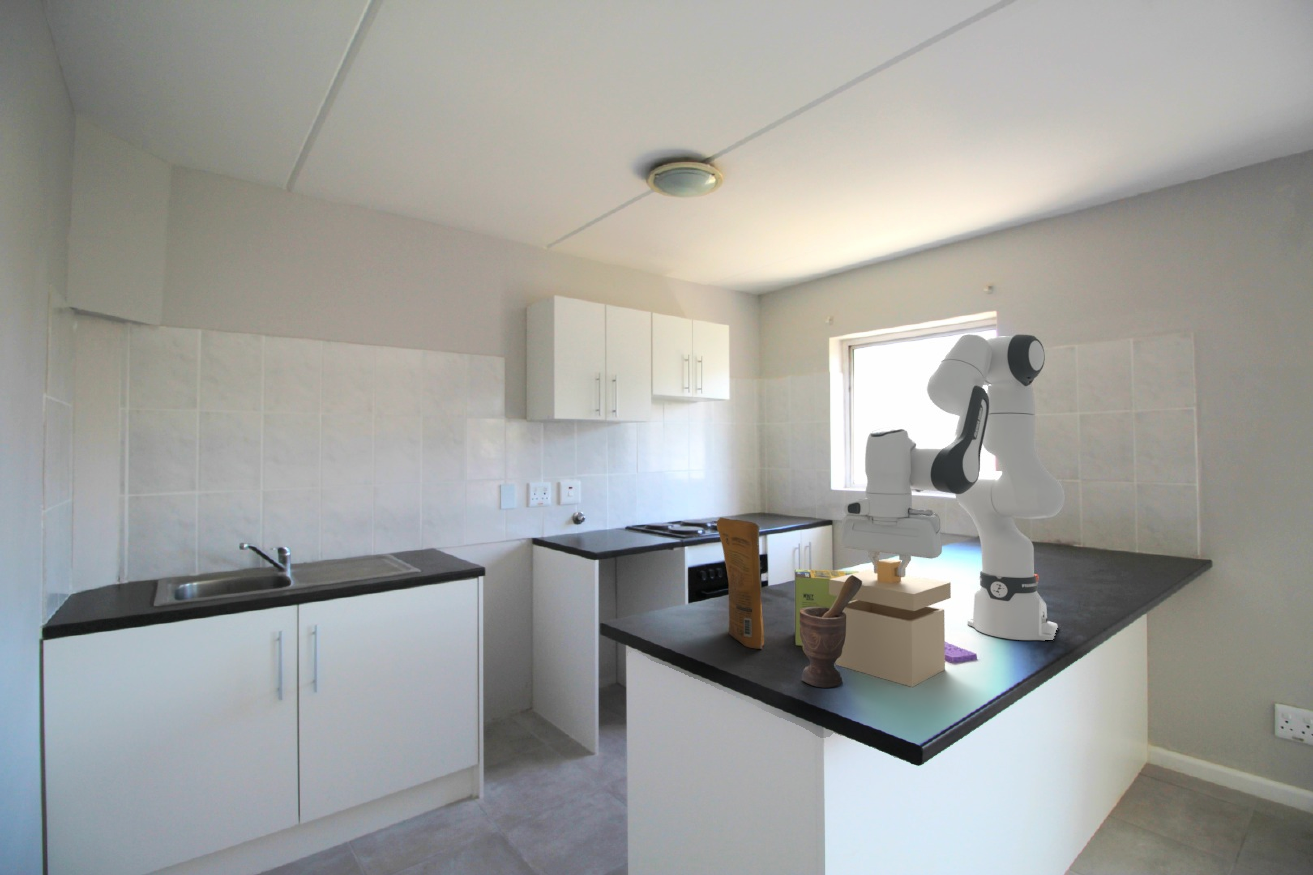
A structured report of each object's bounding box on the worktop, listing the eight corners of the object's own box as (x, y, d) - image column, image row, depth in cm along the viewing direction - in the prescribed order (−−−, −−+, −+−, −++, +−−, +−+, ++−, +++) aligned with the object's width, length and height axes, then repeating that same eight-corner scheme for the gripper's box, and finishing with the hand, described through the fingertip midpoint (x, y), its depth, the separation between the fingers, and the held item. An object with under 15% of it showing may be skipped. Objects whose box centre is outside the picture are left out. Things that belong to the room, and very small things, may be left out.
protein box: (866, 650, 135) (866, 579, 135) (795, 645, 138) (794, 576, 138) (860, 636, 145) (860, 570, 145) (794, 632, 148) (793, 568, 149)
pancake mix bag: (745, 653, 132) (745, 523, 133) (714, 629, 151) (714, 515, 152) (774, 650, 134) (773, 522, 135) (739, 627, 153) (739, 514, 153)
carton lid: (868, 583, 136) (868, 551, 136) (950, 597, 123) (950, 562, 123) (829, 594, 126) (829, 559, 126) (914, 611, 112) (913, 572, 113)
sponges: (932, 644, 141) (932, 636, 141) (978, 661, 129) (978, 652, 129) (908, 647, 138) (908, 639, 138) (952, 665, 127) (952, 656, 127)
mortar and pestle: (837, 668, 123) (836, 568, 124) (869, 683, 115) (868, 576, 116) (790, 677, 118) (790, 573, 119) (820, 693, 110) (820, 581, 111)
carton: (871, 650, 135) (870, 595, 135) (944, 669, 123) (944, 609, 123) (835, 664, 125) (835, 605, 126) (912, 686, 113) (911, 621, 114)
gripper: (947, 509, 119) (948, 580, 119) (852, 503, 135) (853, 566, 134) (932, 511, 115) (933, 585, 115) (836, 504, 130) (837, 570, 130)
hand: (889, 575), depth 125 cm, fingers closed on carton lid, 3 cm apart
